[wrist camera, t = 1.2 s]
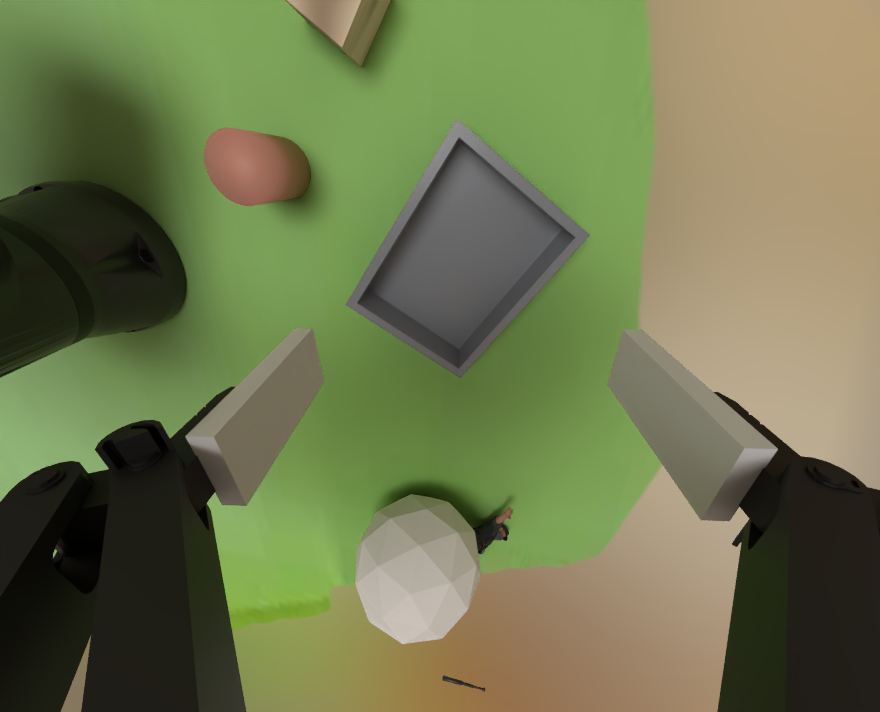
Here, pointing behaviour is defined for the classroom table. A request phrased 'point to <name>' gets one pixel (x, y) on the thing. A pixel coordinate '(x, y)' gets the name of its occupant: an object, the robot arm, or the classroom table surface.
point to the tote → (464, 254)
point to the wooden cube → (345, 22)
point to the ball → (421, 567)
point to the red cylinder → (256, 166)
